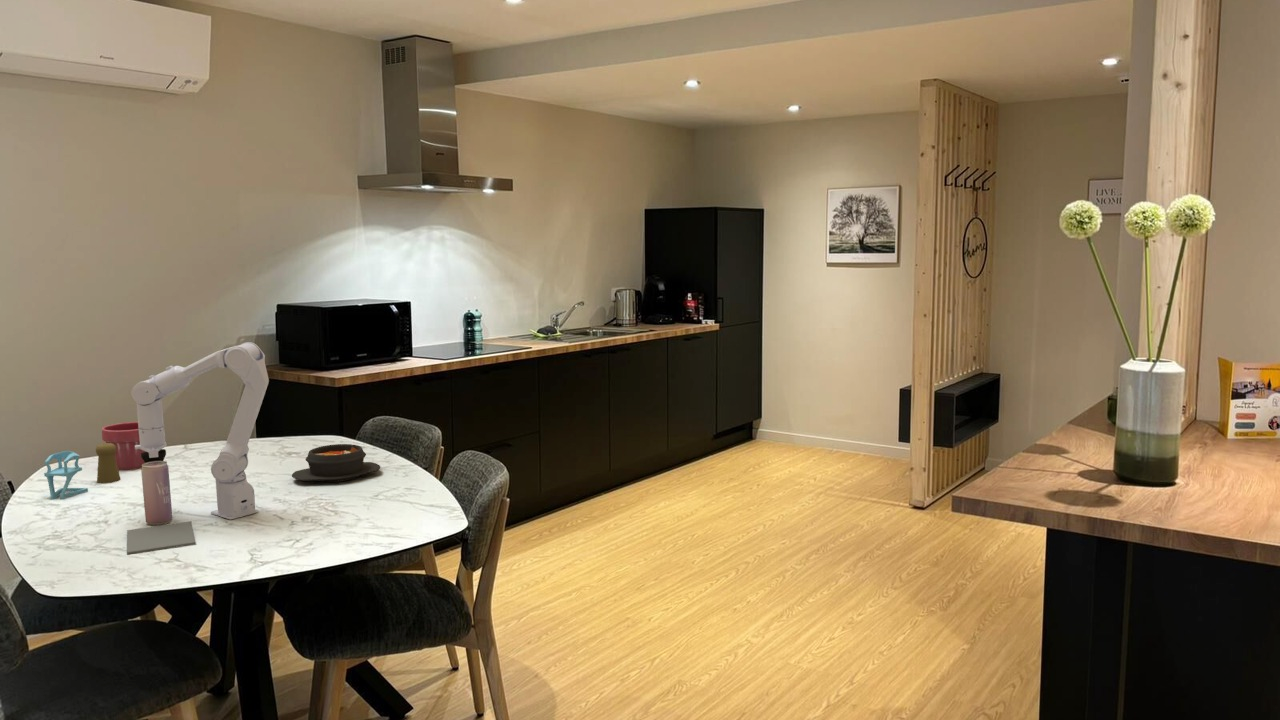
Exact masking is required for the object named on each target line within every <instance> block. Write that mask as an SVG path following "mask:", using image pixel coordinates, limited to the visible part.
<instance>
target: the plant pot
mask: <svg viewBox="0 0 1280 720" xmlns="http://www.w3.org/2000/svg"><path fill="white" fill-rule="evenodd" d="M101 439H102V441H103V442H105V443H112V444H114V445H115V446H116V453H115V459H116V463H117V467H118V471H119V470H121V471H123V470H124V471H128V470H136V469H142V464H144V463H145V462H144V460H143V459H142V457H141V453H143V452H146V451H144V450H141V449H135V445H140V439H139V428H138V421H128V422H127V421H126V422H120V423H119V422H118V423H114V424H109V425H106V426H103V427H102V428H101Z"/></svg>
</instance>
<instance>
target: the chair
mask: <svg viewBox="0 0 1280 720" xmlns="http://www.w3.org/2000/svg"><path fill="white" fill-rule="evenodd" d="M53 459H56V460H57V462H58V463H57V464H58V465H57V466H58V467H56V468H54V469H52V467H51V465H50V462H51V461H52V460H53ZM62 459H64V460H63V462H62ZM73 459H74V467H69V466H68V463H69V462H70V461H71V460H73ZM79 459H80V454H78V453H76V452H74V451H70V450H64V451H61V452H56V453H53V454H50V455H49V456H47V458H46V460H44V463H45V466H46V468H47V471H45V472H44V473H43V475H44V476H43V477H46V480H47V482H48V483H47V484H48V488H49V494H50V500H55V499H57V498H58V497H59V500H64V499H67V498H71V497H73V496H76V495H80V494H83V493H84V494H85V493H87V492H88V491H89V488H88V487H69V485H70V483H71V481H72V479H73V477H74V476H75V475H76V474H78V472H81V471H83V467H82V466H79ZM62 463H63V464H62ZM54 477H66V480H65V482H64V485H63V487H60V488H58V489H57V490H55V489H56V488H55V484H54ZM66 492H67V493H66Z"/></svg>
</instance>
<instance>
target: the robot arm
mask: <svg viewBox="0 0 1280 720" xmlns="http://www.w3.org/2000/svg"><path fill="white" fill-rule="evenodd" d="M265 360H266V355H265V353H264V352H263V350H261V348H260V347H259V346H258V344H256V343H254V342H251V341H247V342H242V343H240V344H239V345H234V346H231V347H227V348H224V349H222V350H221V349H220V350H218V351H215V352H213V353H211V354H209V355H207V356H205V357H202V358H200V359H199V360H197V361H195V362H193V363H191V364H189V365H187V366H185V367H184V366H180V365H175V366H173V365H169V366H167V367H165V370H164V371H162V372H160V373H158V374H156V375H155V374H152V375H149V376H148V379H146V380H143V381H139V382H137V383H136V384H135V385H134V386H133V387H132V388H131V393H130V395H131V397H132V399H133V401H134V402H135V403H136V416H137V422H138V428H139V439H140V445H135V449H141V450H144V451H146V452H143V453H141V457H142V459H143V460H144V462H145V463H147V462H153V461H164V460H165V458H166V456H167V449H165V448H166V447H167V442H166V435H165V424H164V410H163V409H164V408H163V398H164V397H167V396H169V395H171V394H174V393H176V392H178V391H179V390H182V389H184V388H186V387H188V386H189V385H190V383H191V379H193V378H195V377H197V376H199V375H202V374H203V373H206V372H209V371H210V370H213V369H215V368H220V369H227V368H228V369H229V370H231V372H232V373H234V374H235V375H237V376H238V377H239V378H240V379H241V381H242V382H243V384H244V389H243V392H242V394H241V398H240V400H239V403H238V406H237V409H236V412H235V414H234V415H235V416H234V418H233V421H232V424H231V427H230V431H229V433H228V436H227V439H226V442H225V444H224V445H223V447H222V449H220V452H219V456H218V457H217V458H216V459H215V460H214V461H213V462H212V464H211V466H210V471H211V472H210V473H211V474H212V477H213V478H214V479H215V490H216V491H215V492H216V503H217V509H216V510H212V511H210V514H211V515H215V516H218V517H221V518H225V519H227V520H234V519H239V518H242V517H245V516H249V515H254V514H256V513H259V512H260V510H259V509H257V508H256V499H255V489H254V487H253V486H252V484H251V483H249V482H248V480H247V475H246V472H245V470H247V468H248V466H249V458H248V455H249V450H250V449H249V443H250V439H251V435H252V434H253V433H252V432H253V430H254V428H255V424H256V420H257V418H258V415H259V412H260V409H261V406H262V404H263V400H264V398H265V396H266V391H267V388H268V386H269V382H270V379H269V374H268V370H267V366H266V363H265V362H266V361H265Z"/></svg>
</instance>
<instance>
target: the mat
mask: <svg viewBox="0 0 1280 720" xmlns="http://www.w3.org/2000/svg"><path fill="white" fill-rule="evenodd" d="M196 544H197V543H196V536H195V532H194V528H193V523H192V520H191V521H184V522H176V523H170V524H169V523H167V524H162V525H152V526H146V527H140V528H133V529H127V530H126V555H133V554H140V553H147V552H152V551H153V552H155V551H159V550H166V549H172V548H173V549H174V548H179V547H185V546H186V547H187V546H192V545H194V546H195V545H196Z"/></svg>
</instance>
